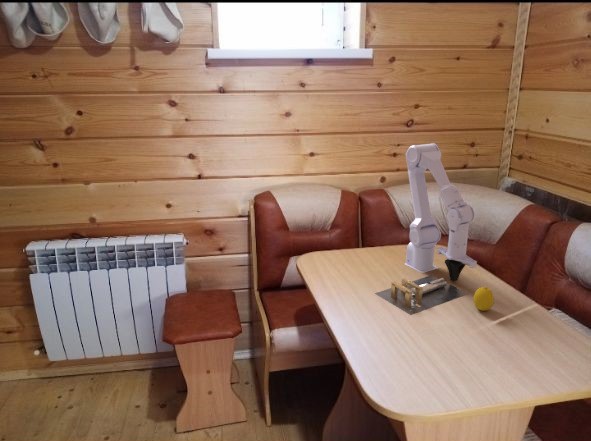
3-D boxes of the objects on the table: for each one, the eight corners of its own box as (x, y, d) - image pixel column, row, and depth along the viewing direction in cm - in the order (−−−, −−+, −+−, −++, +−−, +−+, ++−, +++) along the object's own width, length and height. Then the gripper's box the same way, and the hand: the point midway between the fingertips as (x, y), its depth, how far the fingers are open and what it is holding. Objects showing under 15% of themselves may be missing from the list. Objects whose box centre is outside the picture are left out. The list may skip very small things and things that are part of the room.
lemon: (470, 313, 139) (473, 288, 137) (473, 305, 144) (476, 281, 141) (491, 317, 137) (494, 292, 134) (493, 309, 141) (496, 284, 139)
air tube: (416, 297, 148) (417, 289, 147) (410, 294, 150) (410, 286, 149) (446, 287, 154) (446, 279, 153) (439, 284, 156) (440, 276, 155)
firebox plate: (374, 295, 151) (375, 279, 149) (431, 276, 163) (432, 262, 161) (410, 316, 138) (411, 299, 136) (468, 295, 150) (470, 279, 148)
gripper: (431, 237, 157) (428, 275, 161) (467, 251, 145) (463, 291, 149) (446, 233, 160) (443, 270, 165) (482, 247, 148) (478, 286, 153)
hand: (453, 280), depth 157 cm, fingers closed
